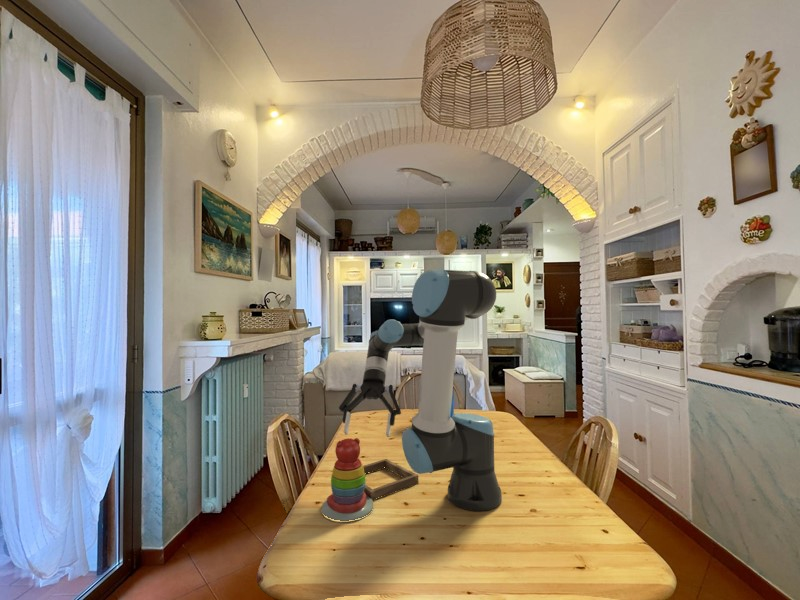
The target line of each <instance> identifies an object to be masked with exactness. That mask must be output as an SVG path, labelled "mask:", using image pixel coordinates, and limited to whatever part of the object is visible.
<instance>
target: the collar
mask: <svg viewBox="0 0 800 600" xmlns="http://www.w3.org/2000/svg"><path fill="white" fill-rule="evenodd" d="M384 467H385V468H384ZM363 468H364V472H365V473H368V472H372V471H375V470H378V469H381V470H383V469H382V468H384V469H386V468H387V469H386V470H388V469H389V470H388V471H390V470H391V471H393V472H394V474H395V473H396V474H395V475H397V474H398V475H397V476H399V475H400V476H399V477H401V476H402V477H401V479H397V480H395V481H392V482H390V483H386V484H384V485H380V486H379V487H376V488H371V487H370V486H368V485H367V484H365V489H364V492H365V494H366V495H367V496H369V497H370V498H371V499H372V500H373V501H375V500H374V499H376V498H378V497H381V496H384V495H386V496H388V495H387V494H389V495H391V494H390V493H392V494H393V492H394V493H396V492H395V491H397V492H399V491H398V490H400V491H401V489H402V490H405V489H407V488H410V487H412V485H413V486H415V485H419V474H418V473H416V472H415V473H414V471H411V470H408V469H407V468H404V467H403V466H401V465H398V463H395V462H393V461H391V460H389V459H387V458H385V459H380V460H378V461H374V462H371V463H368V464H365V465H363ZM378 471H379V470H378ZM391 471H390V472H391ZM375 472H376V471H375ZM393 472H392V473H393ZM372 473H373V472H372ZM409 486H410V487H409ZM406 487H407V488H406ZM404 488H405V489H404ZM384 497H385V496H384ZM381 498H382V497H381ZM378 499H379V498H378ZM376 500H377V499H376Z"/></svg>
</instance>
